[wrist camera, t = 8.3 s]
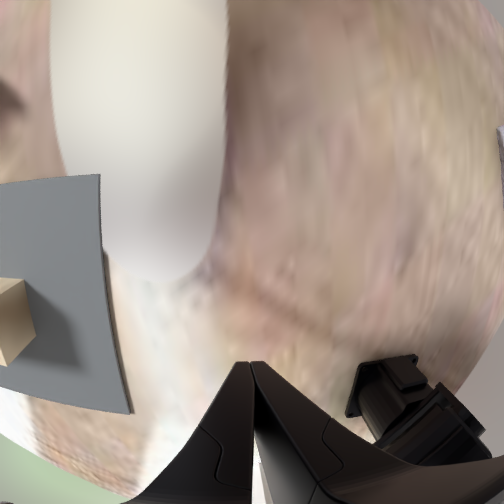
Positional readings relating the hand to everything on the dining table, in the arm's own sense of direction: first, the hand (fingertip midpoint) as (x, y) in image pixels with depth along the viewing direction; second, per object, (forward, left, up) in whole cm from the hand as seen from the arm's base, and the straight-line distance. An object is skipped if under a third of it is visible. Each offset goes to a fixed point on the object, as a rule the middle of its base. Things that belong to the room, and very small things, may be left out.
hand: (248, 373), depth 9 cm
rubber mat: (-4, +20, -12) cm, 24 cm away
